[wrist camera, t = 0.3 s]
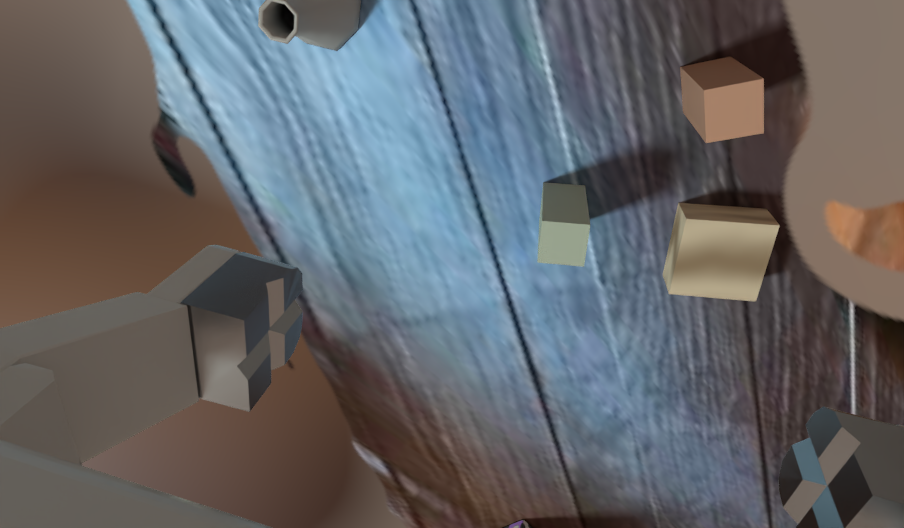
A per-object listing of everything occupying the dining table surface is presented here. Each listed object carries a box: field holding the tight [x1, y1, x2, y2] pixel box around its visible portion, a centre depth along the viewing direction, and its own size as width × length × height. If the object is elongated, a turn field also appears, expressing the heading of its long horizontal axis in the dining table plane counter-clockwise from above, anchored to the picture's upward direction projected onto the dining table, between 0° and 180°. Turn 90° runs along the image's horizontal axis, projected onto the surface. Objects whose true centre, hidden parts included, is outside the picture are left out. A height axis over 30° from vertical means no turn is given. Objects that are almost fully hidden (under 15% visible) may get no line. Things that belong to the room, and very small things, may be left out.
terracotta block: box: [680, 57, 764, 143], centre depth 47 cm, size 4×4×9 cm
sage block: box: [538, 182, 590, 267], centre depth 54 cm, size 4×4×9 cm
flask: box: [258, 0, 361, 51], centre depth 48 cm, size 7×7×10 cm
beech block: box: [663, 203, 780, 301], centre depth 56 cm, size 8×8×4 cm
